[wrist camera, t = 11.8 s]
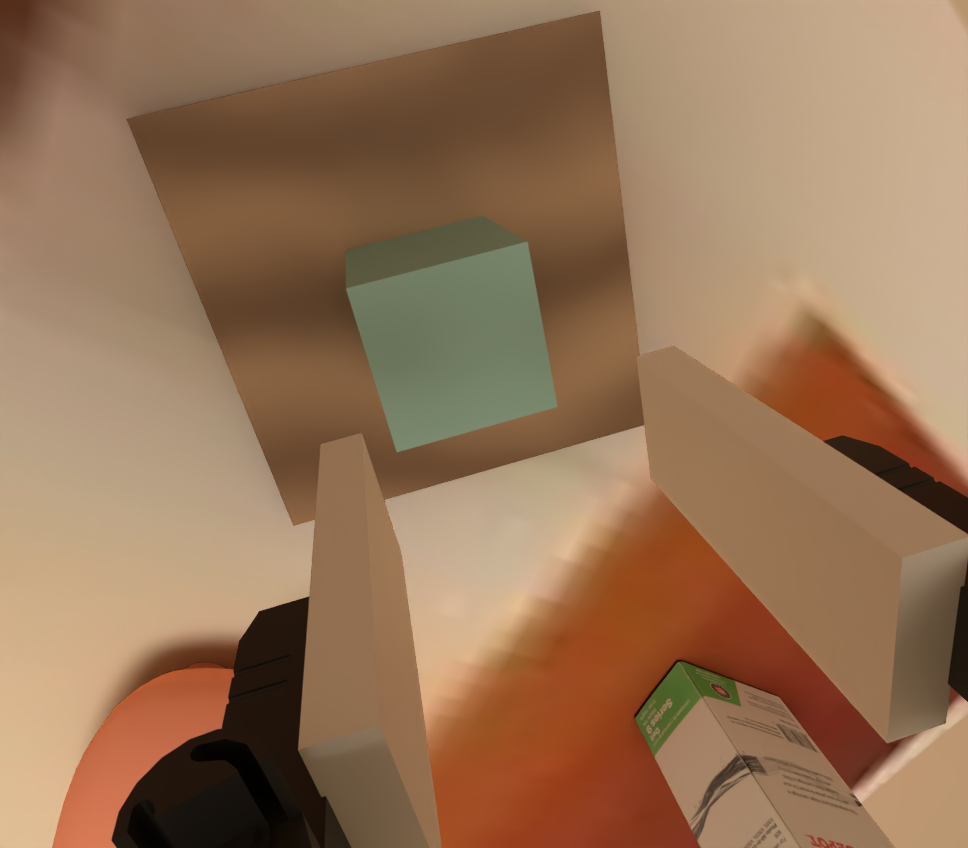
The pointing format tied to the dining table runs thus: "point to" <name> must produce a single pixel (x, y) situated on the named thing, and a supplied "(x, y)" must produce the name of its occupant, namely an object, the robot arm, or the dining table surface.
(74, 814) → the teapot
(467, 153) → the post stand
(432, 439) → the teal green block
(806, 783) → the ink box
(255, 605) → the dining table surface
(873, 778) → the dining table surface
